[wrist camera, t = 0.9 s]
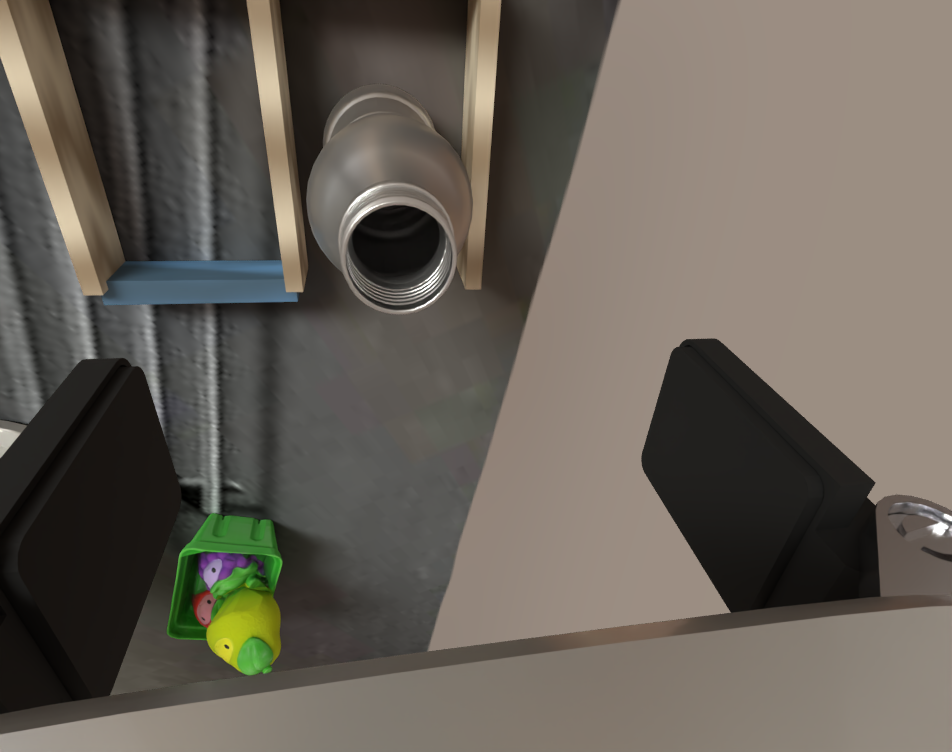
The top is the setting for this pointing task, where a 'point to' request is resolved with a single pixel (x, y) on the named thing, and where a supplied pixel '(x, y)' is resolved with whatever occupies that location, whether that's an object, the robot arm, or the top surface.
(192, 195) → the top surface
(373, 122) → the plastic bottle
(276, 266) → the divider rack
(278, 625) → the fruit basket
